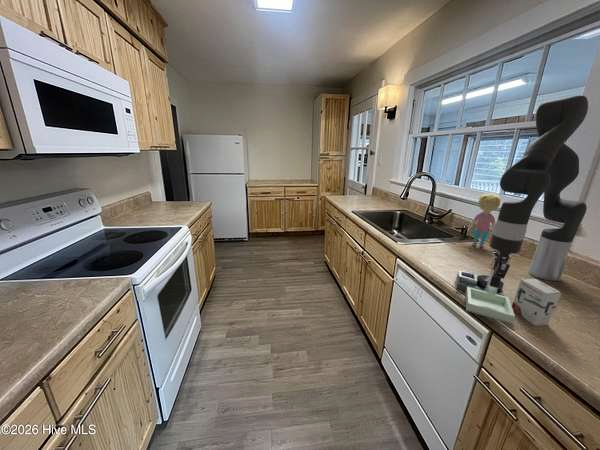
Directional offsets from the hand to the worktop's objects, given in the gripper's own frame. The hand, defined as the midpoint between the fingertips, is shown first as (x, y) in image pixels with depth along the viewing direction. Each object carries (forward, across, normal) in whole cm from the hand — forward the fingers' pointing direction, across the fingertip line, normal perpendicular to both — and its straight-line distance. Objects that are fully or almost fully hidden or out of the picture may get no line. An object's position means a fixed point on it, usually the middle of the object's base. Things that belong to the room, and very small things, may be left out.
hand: (493, 283), depth 80 cm
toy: (+9, +66, -1) cm, 67 cm away
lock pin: (+3, 0, 0) cm, 3 cm away
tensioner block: (+9, +12, +2) cm, 15 cm away
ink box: (+9, +2, -11) cm, 15 cm away
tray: (+9, 0, 0) cm, 9 cm away
